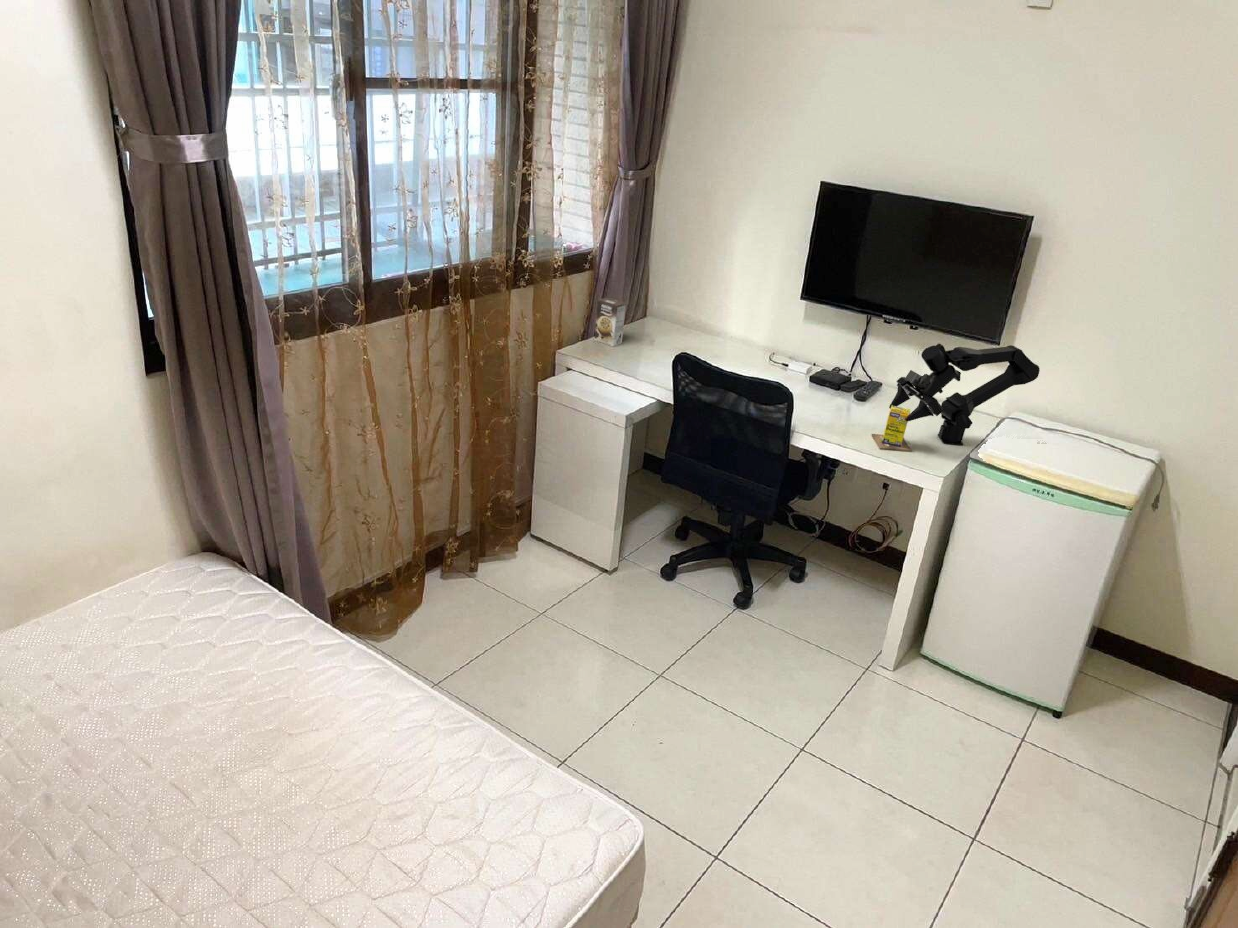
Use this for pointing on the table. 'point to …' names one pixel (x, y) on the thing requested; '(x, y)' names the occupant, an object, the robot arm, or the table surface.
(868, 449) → the table surface
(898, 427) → the supplement box
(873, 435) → the pad
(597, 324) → the coffee box
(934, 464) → the table surface
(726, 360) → the table surface
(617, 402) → the table surface
